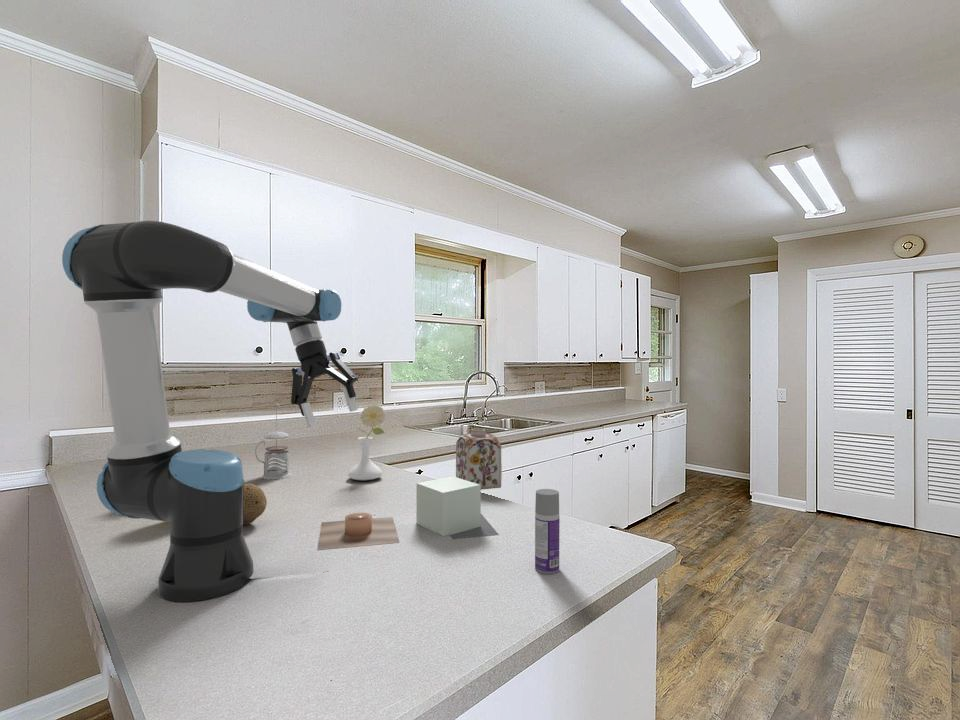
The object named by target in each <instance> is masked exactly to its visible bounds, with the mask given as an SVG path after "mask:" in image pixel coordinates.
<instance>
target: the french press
mask: <svg viewBox="0 0 960 720" xmlns="http://www.w3.org/2000/svg"><path fill="white" fill-rule="evenodd" d="M279 407H280V404H279V403H274V404H273V408H275V421H276V422H275V431H272V432H268V433H267V434H266V435H264V436H263V438H264V439H265V440H275V444H276V445H272V446H268V447H265V451H266V452H264V460H261V459H260V458H259V457H258V455H257V448H258V447H259V445H260V444H262V443H263V445H264V446H265V445H266V441H265V440H261V441H260V442H258V444H257V445H256V447H255V449H254V453H255V454H254V455H255V458H256V460H257V461H258V462H259V463H262V464H263V474H262V476H261V477H262V478H264V479H263V480H270V479H271V480H280V479H279V478H283V479H286V478H285V477H287V478H289V476H290V477H291V476H292V473H290V471H289V470H290V469H289V467H290V466H289V465H290V463H289V462H290V461H289V460H290V459H289V458H290V457H289V450H287V449H289V447H288V446H286V445H278V440H281V439H282V440H283V439H286V438H289V437H290V435H289V434H288V433H286V432H284V431H278V419H277V418H278V409H277V408H279ZM262 478H261V479H262Z"/></svg>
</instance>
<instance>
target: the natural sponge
mask: <svg viewBox="0 0 960 720" xmlns="http://www.w3.org/2000/svg"><path fill="white" fill-rule="evenodd" d="M267 503H268V502H267V498H266V494H265V492H264V490H263V489H262V488H261V487H260V486H258V485H257V484H253V483H245V484H244V487H243V526H247V525H251V524H252V523H253V522H254V521H255V520H256V519H258V518H259V517H260V516H261V515H263V514H264V512H265V511H266V508H267Z"/></svg>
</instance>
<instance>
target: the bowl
mask: <svg viewBox="0 0 960 720" xmlns="http://www.w3.org/2000/svg"><path fill="white" fill-rule="evenodd" d="M372 518H373V515H372V514H371V513H368V512H354V513H349V514H347V515H345V517H344V521H345V534H346V535H348V536H364V535H367V534H370V533H371V532H372Z"/></svg>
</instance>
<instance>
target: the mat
mask: <svg viewBox="0 0 960 720" xmlns="http://www.w3.org/2000/svg"><path fill="white" fill-rule="evenodd" d="M499 535H500V534H499V532H497V531H496V529H495V528H494V527H493V525H491V523H490V522H489V521H488V520H487V519H486V517H484V515H483V514H482V513H481V527H477V528H474V529H470V530H467V531H463V532H459V533H456V534H452V535H450V534H449V536H450V538H451V539H452V540H457V539H459V540H460V539H467V538H468V539H470V538H478V537H479V538H480V537H481V538H482V537H491V536H499Z"/></svg>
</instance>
